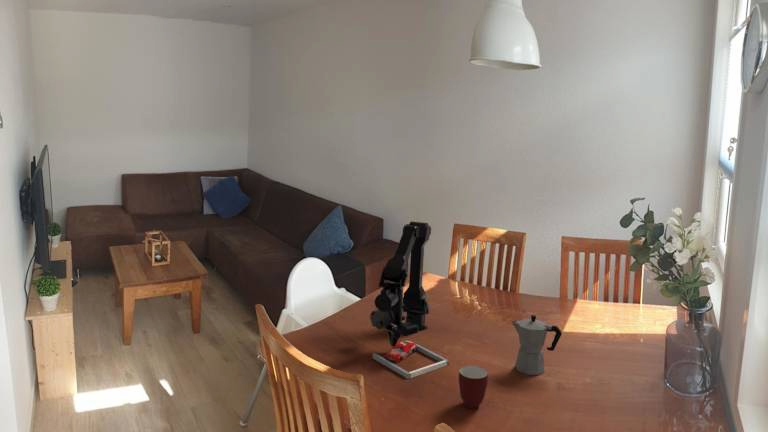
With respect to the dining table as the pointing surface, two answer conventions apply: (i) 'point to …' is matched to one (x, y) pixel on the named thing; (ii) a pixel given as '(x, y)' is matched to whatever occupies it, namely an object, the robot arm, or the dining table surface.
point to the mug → (473, 385)
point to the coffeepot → (533, 344)
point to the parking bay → (417, 372)
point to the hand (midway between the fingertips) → (393, 346)
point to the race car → (401, 351)
